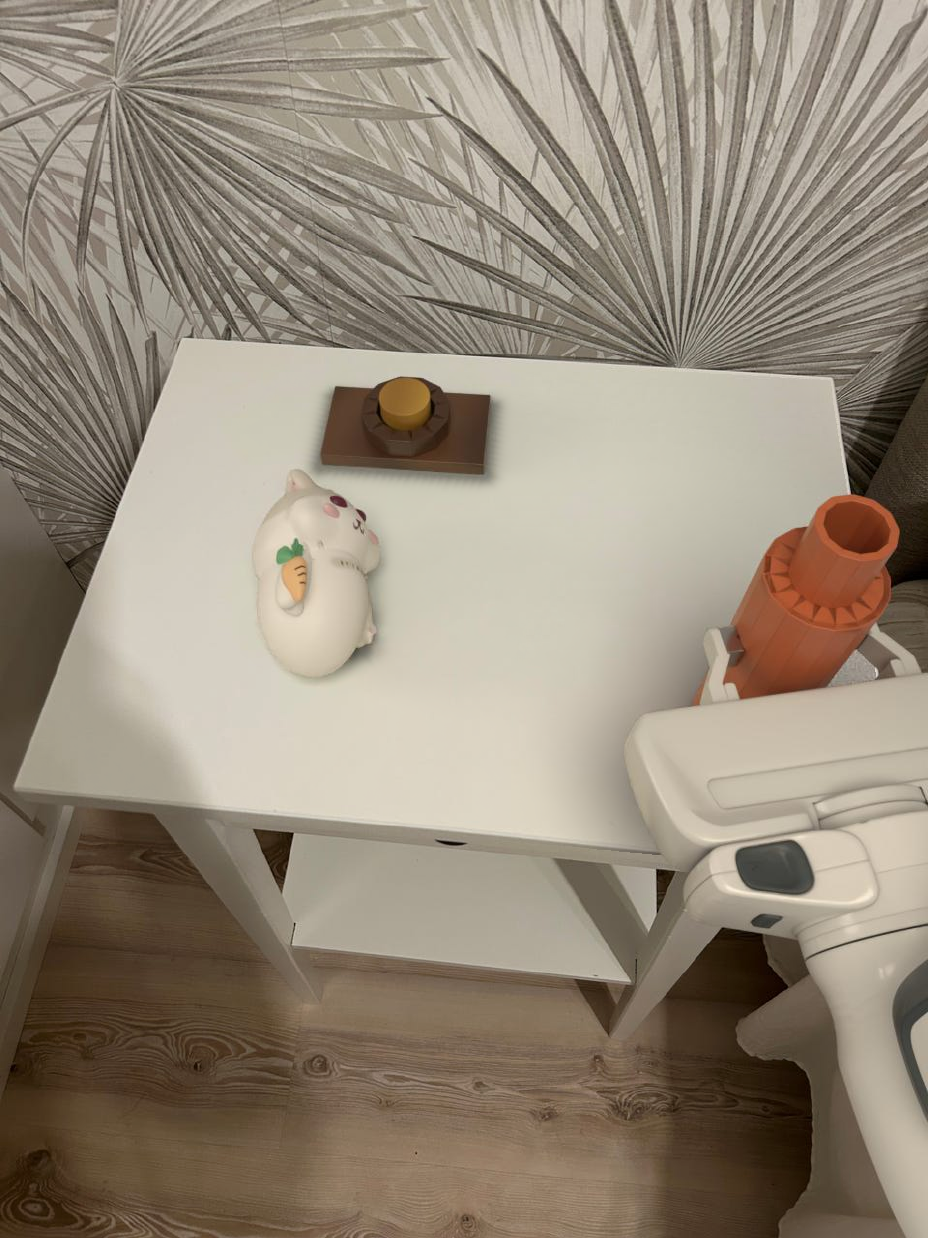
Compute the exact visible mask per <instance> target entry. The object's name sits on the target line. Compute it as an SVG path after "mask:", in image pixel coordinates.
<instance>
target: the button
mask: <svg viewBox="0 0 928 1238" xmlns="http://www.w3.org/2000/svg"><path fill="white" fill-rule="evenodd" d="M379 404H380V412H381V417H382V419H383V421H384V422H385V423H386V424H387V425H388V426H389V427H391V428H393V429H396V430H406V431H409V430H413V429H416V428H418V427H421V426H423V425H424V424H425V423H426V422H427V421H428V419H429V418H430V415H431V400H430V392H429V389H428V388H427V386H426V385H425V384H424V383H422V382H421V381H419V380H416V379H413V378H398V379H395V380H392V381H390V382H388V383H387V384H386V385H385V386H384V387H383V388H382V389H381V391H380V393H379Z"/></svg>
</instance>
